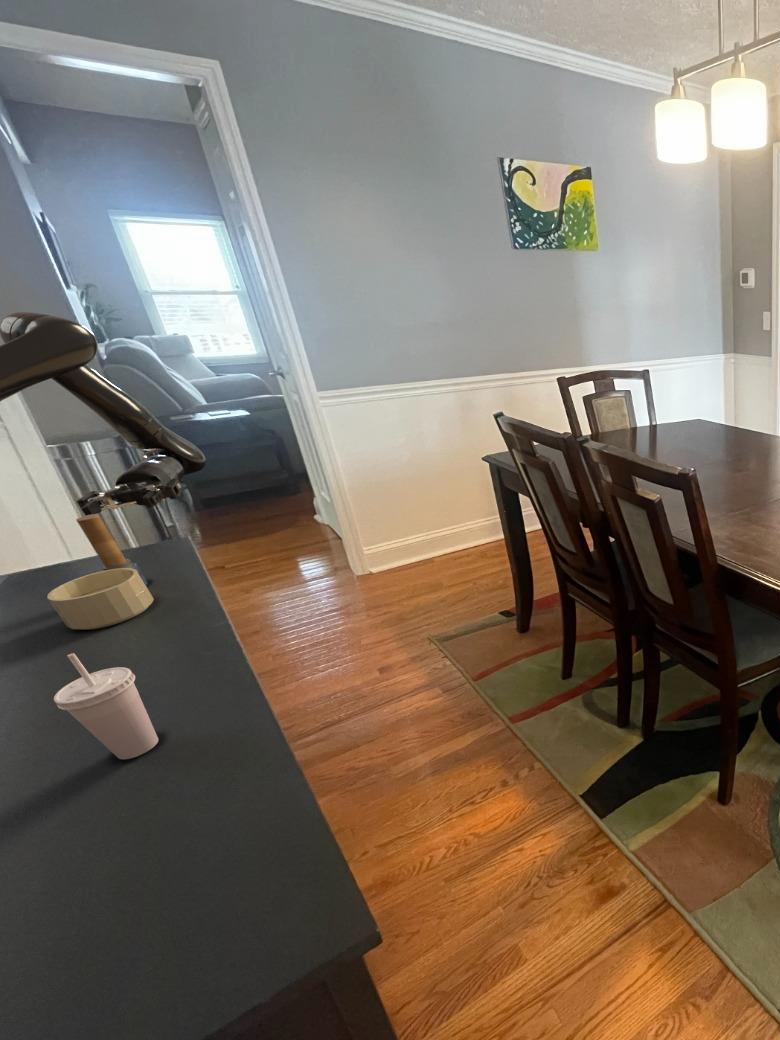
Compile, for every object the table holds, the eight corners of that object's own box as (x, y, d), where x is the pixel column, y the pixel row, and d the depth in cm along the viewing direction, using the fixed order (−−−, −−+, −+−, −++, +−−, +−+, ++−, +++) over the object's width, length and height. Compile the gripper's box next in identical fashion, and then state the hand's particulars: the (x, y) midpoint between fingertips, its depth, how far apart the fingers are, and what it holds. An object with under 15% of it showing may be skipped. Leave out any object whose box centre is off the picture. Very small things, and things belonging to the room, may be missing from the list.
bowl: (50, 636, 94) (27, 604, 91) (100, 602, 103) (81, 572, 101) (127, 626, 96) (107, 594, 93) (169, 594, 105) (152, 564, 102)
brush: (106, 596, 105) (60, 524, 99) (125, 583, 109) (82, 513, 103) (136, 592, 106) (92, 520, 100) (153, 580, 110) (112, 510, 104)
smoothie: (103, 777, 67) (27, 679, 61) (99, 750, 71) (28, 655, 64) (176, 745, 71) (113, 650, 65) (169, 721, 75) (108, 629, 69)
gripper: (94, 471, 119) (55, 496, 106) (183, 458, 125) (156, 481, 112) (114, 505, 123) (79, 534, 110) (200, 492, 128) (176, 517, 115)
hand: (118, 507), depth 111 cm, fingers open, 8 cm apart
